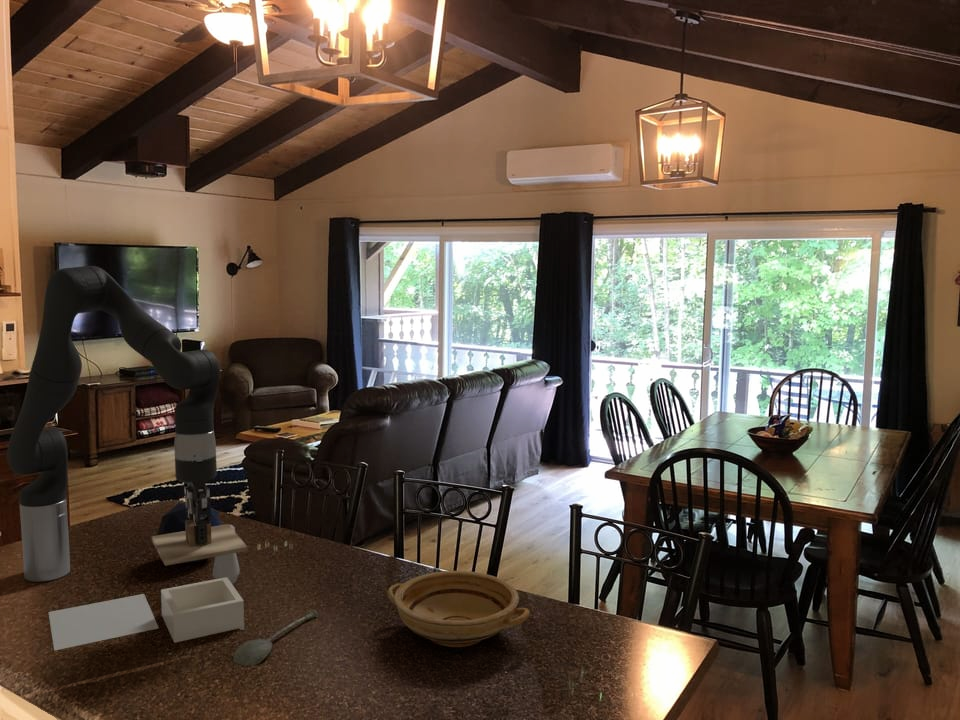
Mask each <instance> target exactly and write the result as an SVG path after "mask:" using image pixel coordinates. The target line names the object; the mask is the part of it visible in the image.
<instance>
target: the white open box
mask: <svg viewBox="0 0 960 720" xmlns="http://www.w3.org/2000/svg"><path fill="white" fill-rule="evenodd" d="M160 598H161V599H160V600H161V601H160V602H161V617H162V619H163V621H164V624H165V625H166V628H167V629H168V632H169V634H170V636H171V639H172V641H173V642H174V644H175V643H180V642H183V641H188V640H192V639H197V638H201V637H206V636H210V635H215V634H219V633H225V632H229V631H232V630H237V629H239V630H240V631H244V630H245V609H244V608H245V605H244V602H245V601H244V599H243V597H242V596H241V595H240V594H239V591H238V590H237V589H236V588H235V586H234V584H232V583H231V582H230V581H229V579H228V578H227V577H225V578H219V579H214V578H213V579H209V580H205V581H199V582H195V583H188V584H184V585H179V586H173V587H169V588H163V589H160Z"/></svg>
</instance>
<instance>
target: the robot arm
mask: <svg viewBox="0 0 960 720" xmlns="http://www.w3.org/2000/svg"><path fill="white" fill-rule="evenodd" d="M96 311H102V312H104V313H106V314H109V315H110V316H111V317H113V318H114V319H115V320H117V323H118V324H119V325H118V326H119V329H120V330H119V331H120V332H121V333H120V334H121V335H122V338H123V340H124V341H125V343H126V344H127V345H128V346H129V347H130V348H131V349H133V351H135V352H136V353H137V354H139V355H140V356H141V357H143V358H144V359H146V360H147V361H149V362H150V364H151V365H152V367H153V368H154V369H155V371H156V373H158V375H159V376H160V377H161V380H163V382H165V383H166V384H167V385H168V386H169V387H171V388H174V389H176V390H178V391H179V390H180V391H187V390H188V392H187V396H186V397H185V398H184V399H183V400H181V401H179V402H177V403H176V405H175V406H174V442H173V443H174V445H173V447H174V450H173V451H174V467H175V468H174V469H175V470H174V471H175V479H176V480H177V481H178V482H181V483H182V482H183V484H182V485H183V489H184V490H183V491H184V499H185V501H184V502H186V511H187V512H188V517H189V518H190V520H192V519H194V522H193V524H194V529H195V543H196V544H197V545H199V544H205V543H207V524H210V522H211V520H210V515H211V507H212V501H213V500H212V498H211V494H210V487H207V484H206V483H207V482H208V481H209V480H213V479H215V478H216V477H217V474H218V471H217V469H218V467H217V443H216V442H217V441H216V436H215V430H214V429H215V424H214V423H215V422H214V407H215V404H216V400H217V395H218V390H219V386H220V382H221V381H220V380H221V366H220V362H219V359H218V358H217V356H216V355H215V354H214V353H213V352H212V351H210V350H209V349H196V350H191V351H182V341H181V339H180V337H179V336H178V335H177V334H175V332H173V331H171V330H170V329H169V328H168V327H166V326H165V325H164V324H162V323H161V322H159V321H157V319H155V318H154V317H153V316H151V315H150V314H149V313H147V312H146V311H145V310H144V309H143V308H142V307H141V306H140V305H139V304H138V303H137V302H136V301H135V300H134V298H133V297H131V295H130V294H129V293H128V292H127V291H126V290H125V289H124V288H123V287H122V286H121V285H120V284H119V283H118V282H117V281H116V279H114V278H113V277H112V276H111V275H110V274H109V273H108V272H107V271H106V270H104V269H103V268H102V267H99V266H97V265H85V266H84V265H83V266H73V267H65V268H60V269H57V270H55V271H54V272H52V274H51V275H50V276H49V279H48V281H47V284H46V289H45V296H44V303H43V310H42V320H41V327H40V332H39V336H38V337H39V338H38V340H37V346H36V349H35V354H34V357H33V360H32V364H31V368H30V373H29V376H28V381H27V386H26V390H25V395H24V397H23V401H22V404H21V405H22V406H21V409H20V412H19V414H18V417H17V419H16V421H15V424H14V428H13V429H12V432H11V434H10V438H9V441H8V444H7V445H8V446H7V452H6V454H7V455H6V459H7V464H8V466H9V468H10V470H11V471H12V472H13V473H15V474H16V475H22V476H23V475H25V476H26V475H33V474H37V473H39V475H38V477H36V479H35V480H33V481H32V482H31V483H29V484H27V485H26V486H24V487H23V488H21V489H20V491H19V494H18V499H19V516H20V530H21V542H22V543H21V545H22V547H21V548H22V559H23V560H22V561H23V563H22V564H23V574H24V575H23V577H24V579H25V580H27V581H29V582H39V583H40V582H47V581H48V582H49V581H53V580H57V579H59V578H63V577H65V576H67V575H68V574H69V573H70V572H71V562H70V561H71V560H70V559H71V558H70V542H69V540H70V539H69V524H68V523H69V522H68V521H69V520H68V506H67V505H68V504H67V502H68V501H67V489H68V482H69V481H68V479H69V478H68V477H69V476H68V473H69V472H68V465H69V464H68V462H69V460H68V457H69V456H68V455H69V453H68V444H67V441H66V437H65V435H64V434H63V432H62V430H60V429H58V428H55V427H51V428H49V427H48V428H45V427H46V426H47V424H48V423H50V421H51V420H52V419H53V418H54V417H55V416H56V415H57V414H58V413H59V412H60V411H61V410H62V409H63V408H64V407H65V406H67V404H68V403H69V401H70V400H71V399H72V398H73V397H74V395H75V393H76V390H77V388H78V384H79V381H80V377H81V374H82V370H83V369H82V368H83V363H82V359H81V356H80V354H79V353H80V352H78V350H77V347H76V346H75V344H74V342H73V339H72V337H71V336H72V335H71V334H72V330H73V329H72V328H73V324H74V322H75V321H74V320H75V319H76V317H77V316H78V314H84V313H89V312H90V313H92V312H96ZM203 515H204V518H202V517H200V516H203ZM200 518H202V519H200Z"/></svg>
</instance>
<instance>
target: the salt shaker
mask: <svg viewBox="0 0 960 720" xmlns="http://www.w3.org/2000/svg"><path fill="white" fill-rule="evenodd" d="M224 525H226V524H224ZM229 525H230V527H231V528H232V529H233V530H234V531H235V532H236V528H235V526H234V525H233V524H229ZM238 560H239V559H238V557H237V553H233V554H228V555H222V556H216V557H214V561H213V566H212V567H213V569H212V577H213V580H214V579H219V578H225V577H227V578H228V579H229V581H230V582H231V583H232V585H235V583H236V582H237V579H238V578H239V575H240V570H241V569H240V565H239V561H238Z"/></svg>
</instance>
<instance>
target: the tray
mask: <svg viewBox="0 0 960 720" xmlns="http://www.w3.org/2000/svg"><path fill="white" fill-rule="evenodd" d="M48 618H49V623H50V624H49V626H50V631H51V638H52V644H53V645H52V646H53V651H54V652H55V651H58V650H64V649H70V648H74V647H79V646H83V645H88V644H92V643H97V642H101V641H106V640H110V639H115V638H120V637H121V638H122V637H125V636H131V635H135V634H139V633H143V632H147V631H148V632H149V631H152V630H157V629H159V628H160V627H159V625H158V623H157V620H156V618H155V616H154V613H153V611H152V609H151V606H150V604H149V603H148V600H147V598H146V595H145V593H141V594H135V595H131V596H130V595H129V596H125V597H121V598H115V599H110V600H105V601H100V602H94V603H90V604H84V605H80V606H79V605H78V606H72V607H68V608H64V609H63V608H62V609H57V610H53V611H49V612H48Z"/></svg>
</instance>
